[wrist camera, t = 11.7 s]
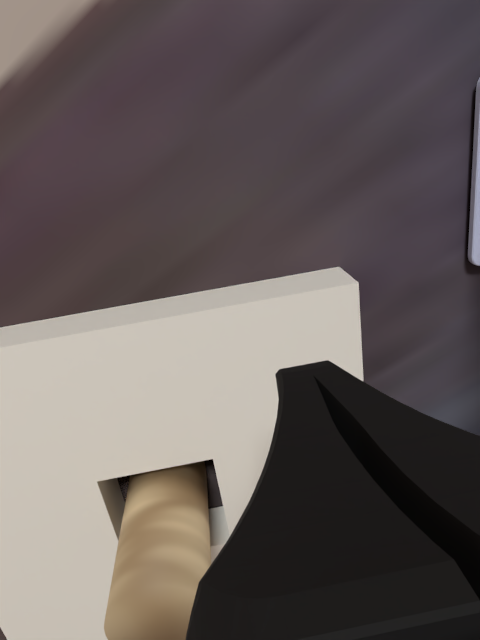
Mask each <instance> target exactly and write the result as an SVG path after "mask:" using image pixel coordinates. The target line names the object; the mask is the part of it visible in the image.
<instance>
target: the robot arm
mask: <svg viewBox="0 0 480 640" xmlns="http://www.w3.org/2000/svg"><path fill="white" fill-rule="evenodd" d="M468 260H469V261H470V263H472V264H474V265H477V266H480V78H479V80H478V82H477V86H476V102H475V122H474V142H473V161H472V181H471V201H470V221H469V241H468ZM275 376H276V383H277V390H278V397H279V401H278V411H277V419H276V424H275V428H274V433H273V438H272V442H271V445H270V449H269V452H268V456H267V459H266V462H265V465H264V467H263V470H262V473H261V475H260V478H259V480H258V482H257V485H256V487H255V490H254V492H253V494H252V496H251V498H250V501H249V503H248V505H247V506H246V508H245V510H244V512H243V514H242V516H241V517H240V519H239V521H238V523H237V525H236V526H235V528H234V530H233V532H232V534H231V535H230V537H229V539H228V540H227V542H226V544H225V545H224V546H223V548H222V549H221V551H220V552H219V554H218V555H217V557H216V558H215V560H214V561H213V562H212V564H211V565H210V567H209V568H208V570H207V571H206V573H205V574H204V576H203V577H202V578H201V580H200V581H199V584H198V587H197V591H196V595H195V599H194V603H193V607H192V611H191V615H190V620H189V624H188V629H187V633H186V639H185V640H480V436H478V435H475V434H473V433H470V432H467V431H464V430H462V429H459V428H457V427H454V426H452V425H449V424H447V423H444V422H442V421H439V420H437V419H434V418H432V417H430V416H427V415H425V414H423V413H421V412H419V411H417V410H415V409H413V408H411V407H409V406H406V405H404V404H402V403H400V402H398V401H396V400H395V399H393V398H391V397H389V396H387V395H385V394H384V393H382V392H380V391H378V390H376V389H375V388H373V387H371V386H370V385H368V384H366V383H365V382H363V381H361V380H360V379H358V378H356V377H355V376H353V375H351V374H350V373H348V372H347V371H345V370H343V369H342V368H340V367H339V366H337V365H335V364H334V363H332V362H330V361H329V360H326V361H321V362H315V363H310V364H305V365H299V366H294V367H289V368H283V369H279V370H278V371H277V373H276V374H275Z"/></svg>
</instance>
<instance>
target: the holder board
mask: <svg viewBox="0 0 480 640" xmlns="http://www.w3.org/2000/svg"><path fill="white" fill-rule="evenodd" d="M326 360H329V361H330V362H332V363H334V364H335V365H337V366H339V367H340V368H342V369H343V370H345V371H347V372H348V373H350V374H351V375H353V376H355V377H356V378H358V379H360V380H361V381H363V363H362V343H361V323H360V303H359V283H358V282H357V281H356V280H355V279H353V278H352V277H351V276H350V275H349V274H347V273H346V272H345V271H344V270H343V269H341V268H340V267H335V268H329V269H324V270H318V271H313V272H307V273H302V274H296V275H290V276H285V277H279V278H274V279H268V280H263V281H257V282H251V283H246V284H240V285H235V286H229V287H224V288H218V289H212V290H207V291H201V292H196V293H190V294H185V295H179V296H173V297H168V298H162V299H157V300H151V301H146V302H140V303H134V304H129V305H123V306H118V307H112V308H107V309H101V310H95V311H90V312H84V313H79V314H73V315H68V316H62V317H56V318H51V319H45V320H40V321H34V322H29V323H23V324H17V325H12V326H6V327H1V328H0V627H1V629H2V631H3V633H4V635H5V636H6V638H7V640H108V639H107V637H106V635H105V632H104V621H105V615H106V610H107V604H108V598H109V593H110V587H111V581H112V576H113V570H114V564H115V558H116V553H117V547H118V541H119V536H120V530H121V524H122V519H123V513H124V507H125V501H124V498H123V495H122V492H121V489H120V486H119V483H118V480H117V478H118V477H123V476H128V475H133V474H139V473H144V472H149V471H154V470H159V469H164V468H169V467H174V466H180V465H185V464H190V463H195V462H200V461H205V460H210V459H213V462H214V466H215V471H216V476H217V480H218V485H219V489H220V494H221V498H222V503H223V506H221V507H216V508H211V509H208V510H209V528H210V547H211V564H212V562H213V561H214V560H215V558H216V557H217V555H218V554H219V552H220V551H221V549H222V548H223V546H224V545H225V544H226V542H227V540H228V539H229V537H230V535H231V534H232V532H233V530H234V528H235V526H236V525H237V523H238V521H239V519H240V517H241V516H242V514H243V512H244V510H245V508H246V506H247V505H248V503H249V501H250V498H251V496H252V494H253V492H254V490H255V487H256V485H257V482H258V480H259V478H260V475H261V473H262V470H263V467H264V465H265V462H266V459H267V456H268V452H269V449H270V445H271V442H272V438H273V433H274V428H275V424H276V419H277V411H278V401H279V397H278V390H277V383H276V376H275V374H276V373H277V371H278V370H279V369H283V368H289V367H294V366H299V365H305V364H310V363H315V362H321V361H326Z"/></svg>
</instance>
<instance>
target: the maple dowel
mask: <svg viewBox="0 0 480 640" xmlns="http://www.w3.org/2000/svg"><path fill="white" fill-rule="evenodd" d="M210 565H211V547H210V528H209V510H208V491H207V473H206V465H205V462H204V461H200V462H195V463H190V464H185V465H180V466H174V467H169V468H164V469H159V470H154V471H149V472H144V473H139V474H133V475H130V479H129V485H128V490H127V496H126V502H125V507H124V513H123V519H122V524H121V530H120V536H119V541H118V547H117V553H116V558H115V564H114V570H113V576H112V581H111V587H110V593H109V598H108V604H107V610H106V615H105V621H104V632H105V635H106V637H107V639H108V640H185V639H186V633H187V629H188V624H189V620H190V615H191V611H192V607H193V603H194V599H195V595H196V591H197V587H198V584H199V581H200V580H201V578H202V577H203V576H204V574H205V573H206V571H207V570H208V568H209V567H210Z"/></svg>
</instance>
